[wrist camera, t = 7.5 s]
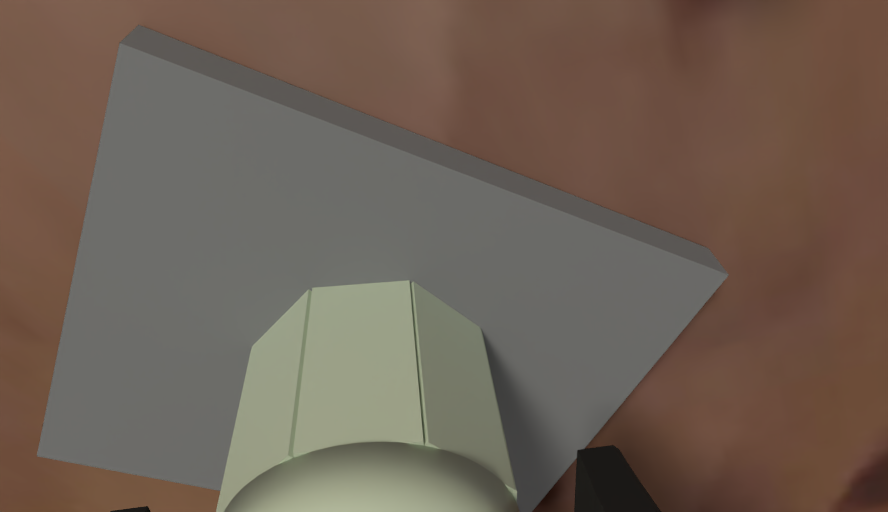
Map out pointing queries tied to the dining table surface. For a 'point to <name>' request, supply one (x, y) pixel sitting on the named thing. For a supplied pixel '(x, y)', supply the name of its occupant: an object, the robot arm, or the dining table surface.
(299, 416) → the cap
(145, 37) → the mat
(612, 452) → the robot arm
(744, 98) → the dining table surface
